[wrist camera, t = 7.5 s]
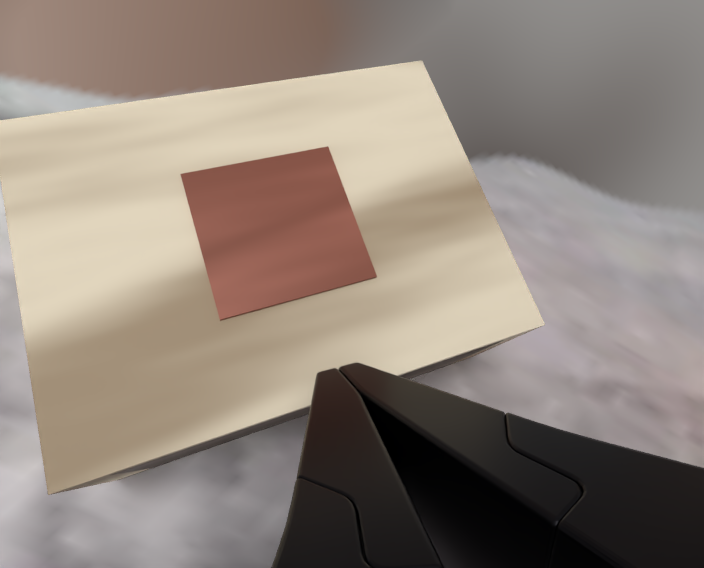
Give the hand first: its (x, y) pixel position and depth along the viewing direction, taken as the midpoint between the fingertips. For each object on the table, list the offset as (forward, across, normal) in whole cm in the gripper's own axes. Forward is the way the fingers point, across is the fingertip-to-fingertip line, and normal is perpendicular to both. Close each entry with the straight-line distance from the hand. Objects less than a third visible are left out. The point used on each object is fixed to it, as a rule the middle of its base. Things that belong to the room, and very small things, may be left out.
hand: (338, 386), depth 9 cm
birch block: (+3, 0, -3) cm, 4 cm away
